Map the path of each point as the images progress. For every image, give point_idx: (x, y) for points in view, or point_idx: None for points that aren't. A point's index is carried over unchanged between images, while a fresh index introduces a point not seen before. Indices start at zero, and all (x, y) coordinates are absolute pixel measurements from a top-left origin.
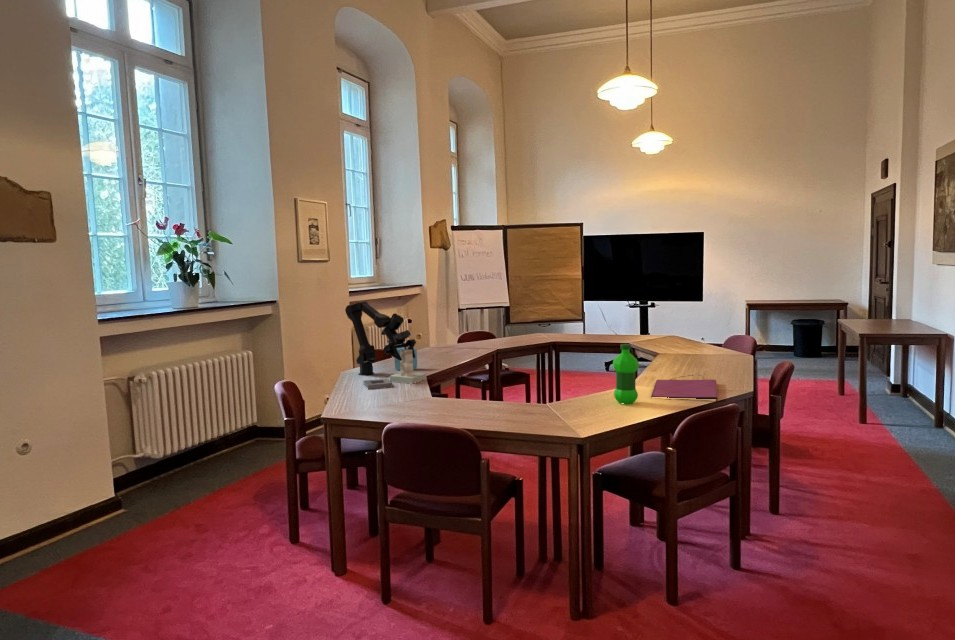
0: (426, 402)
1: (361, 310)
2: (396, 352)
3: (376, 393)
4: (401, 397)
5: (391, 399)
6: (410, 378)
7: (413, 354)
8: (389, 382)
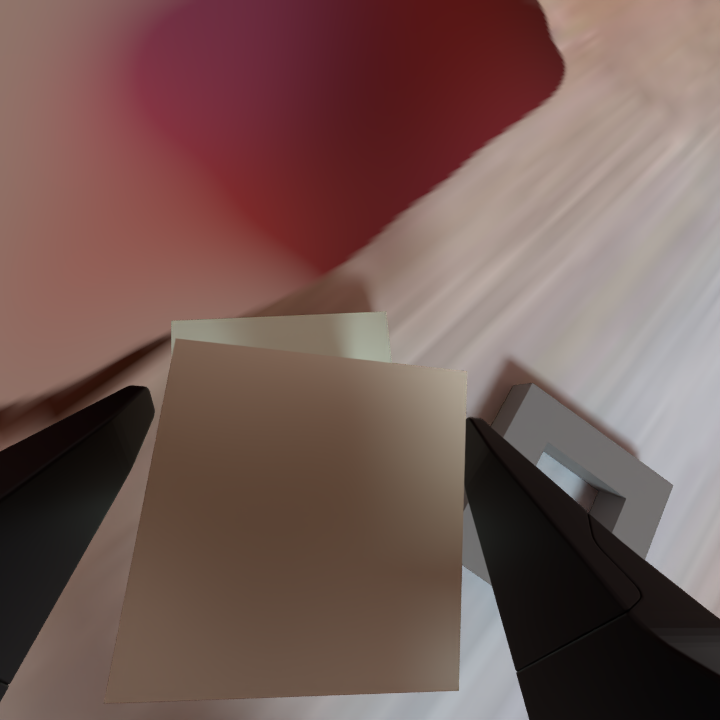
0: (633, 26)
1: None
2: (632, 561)
3: (669, 345)
4: (643, 170)
5: (693, 189)
6: (386, 330)
7: (110, 426)
8: (533, 411)
